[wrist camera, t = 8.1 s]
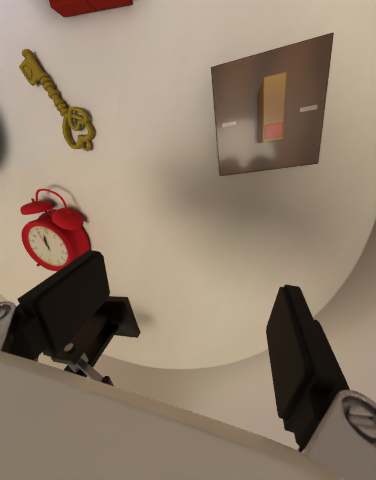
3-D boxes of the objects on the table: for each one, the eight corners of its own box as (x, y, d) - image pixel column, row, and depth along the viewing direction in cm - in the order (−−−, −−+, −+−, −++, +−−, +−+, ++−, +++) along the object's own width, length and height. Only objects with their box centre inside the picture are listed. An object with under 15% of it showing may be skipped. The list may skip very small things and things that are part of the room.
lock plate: (324, 43, 17) (335, 30, 15) (311, 162, 21) (319, 163, 19) (213, 73, 20) (210, 66, 18) (220, 173, 24) (219, 176, 22)
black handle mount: (127, 297, 38) (86, 353, 28) (140, 332, 42) (108, 393, 32) (78, 294, 41) (25, 344, 31) (95, 328, 45) (52, 381, 35)
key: (11, 62, 23) (34, 30, 21) (21, 66, 24) (44, 36, 22) (75, 158, 26) (100, 139, 24) (82, 158, 28) (106, 139, 26)
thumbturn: (258, 91, 18) (263, 75, 14) (276, 87, 18) (288, 69, 14) (257, 143, 20) (262, 142, 16) (274, 140, 20) (284, 139, 15)
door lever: (114, 374, 27) (99, 391, 25) (124, 394, 29) (111, 411, 27) (72, 339, 34) (58, 351, 32) (83, 358, 36) (70, 370, 34)
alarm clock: (27, 267, 35) (-17, 194, 25) (54, 245, 40) (26, 177, 30) (77, 285, 34) (52, 218, 24) (99, 261, 39) (86, 196, 29)
